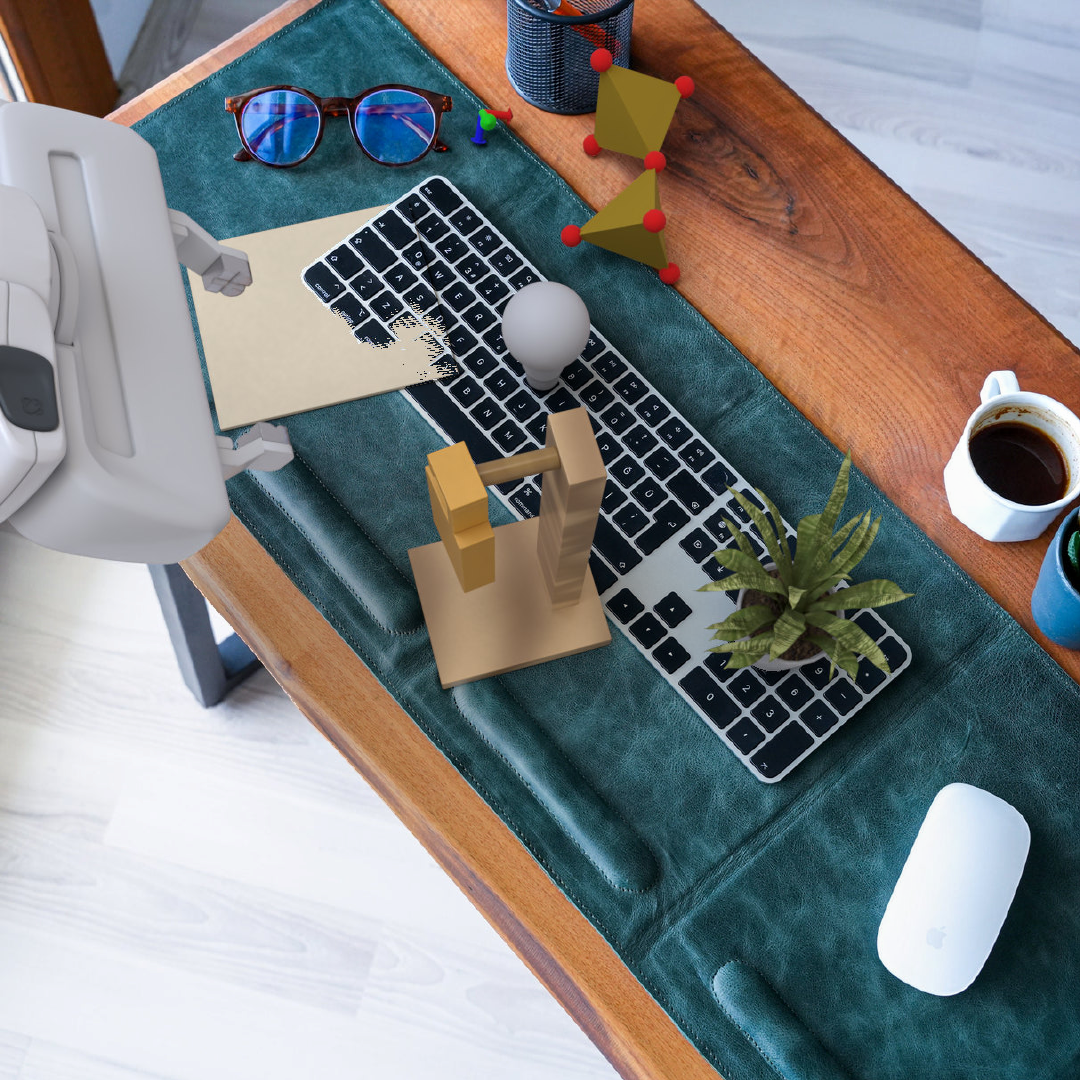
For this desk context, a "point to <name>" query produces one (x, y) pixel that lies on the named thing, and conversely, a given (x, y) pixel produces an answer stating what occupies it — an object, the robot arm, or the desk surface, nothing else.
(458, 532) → the stepped golden-orange block
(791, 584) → the house plant
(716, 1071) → the desk surface
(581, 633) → the coat rack
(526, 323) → the lightbulb
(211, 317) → the flat beige board
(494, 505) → the desk surface
